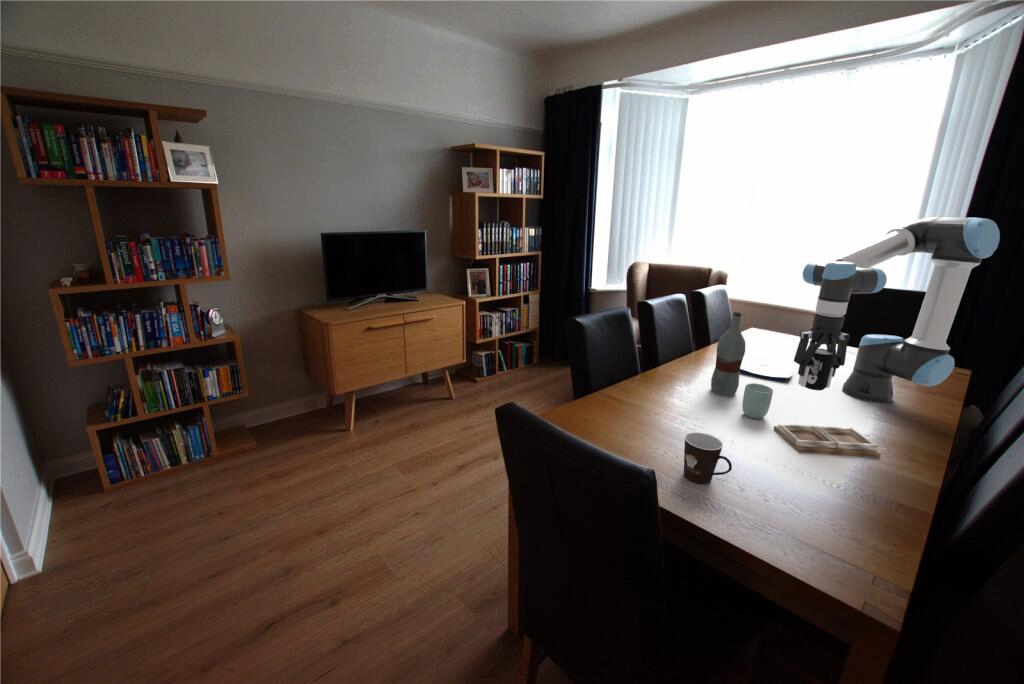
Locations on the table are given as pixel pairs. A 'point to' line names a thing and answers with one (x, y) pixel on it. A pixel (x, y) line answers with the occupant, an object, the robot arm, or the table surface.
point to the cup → (756, 400)
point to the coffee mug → (702, 457)
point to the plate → (766, 369)
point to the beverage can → (819, 369)
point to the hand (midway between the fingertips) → (813, 385)
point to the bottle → (729, 359)
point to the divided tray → (827, 440)
